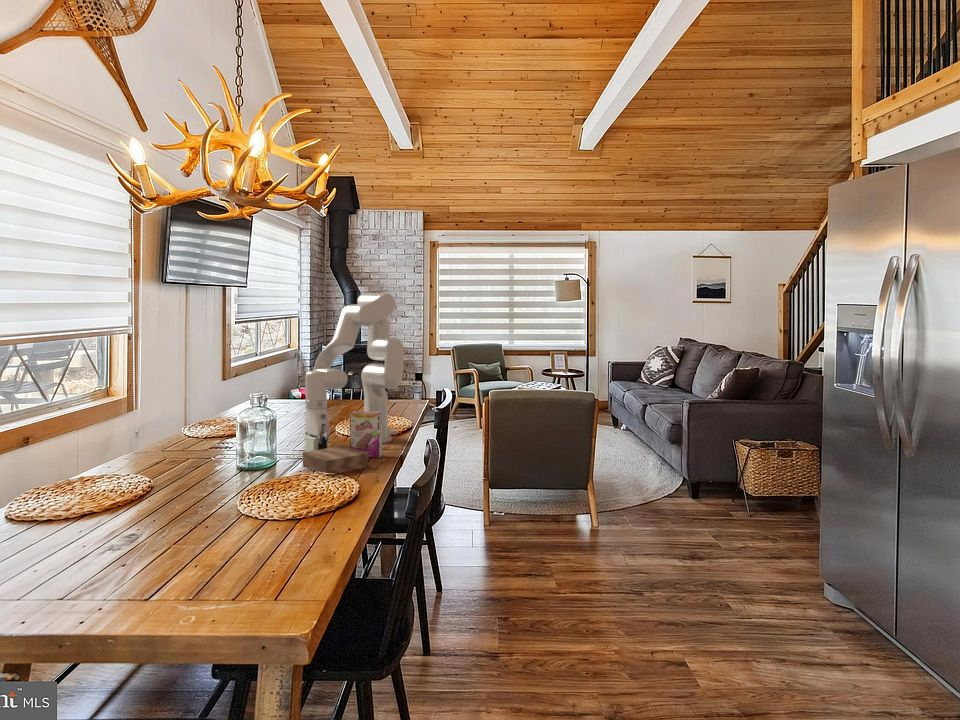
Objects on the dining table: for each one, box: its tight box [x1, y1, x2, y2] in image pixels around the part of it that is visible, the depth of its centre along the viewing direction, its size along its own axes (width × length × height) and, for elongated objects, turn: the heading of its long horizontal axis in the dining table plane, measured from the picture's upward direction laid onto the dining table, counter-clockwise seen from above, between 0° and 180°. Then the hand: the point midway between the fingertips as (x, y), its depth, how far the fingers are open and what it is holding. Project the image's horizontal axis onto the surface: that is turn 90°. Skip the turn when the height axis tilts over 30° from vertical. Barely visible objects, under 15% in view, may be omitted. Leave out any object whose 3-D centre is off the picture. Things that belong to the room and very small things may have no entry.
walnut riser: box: [302, 444, 369, 475], centre depth 216 cm, size 16×16×5 cm
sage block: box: [304, 434, 329, 452], centre depth 233 cm, size 6×6×7 cm
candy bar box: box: [349, 410, 383, 459], centre depth 231 cm, size 11×5×16 cm, turn 84°
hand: (317, 451), depth 233 cm, fingers open, 7 cm apart
